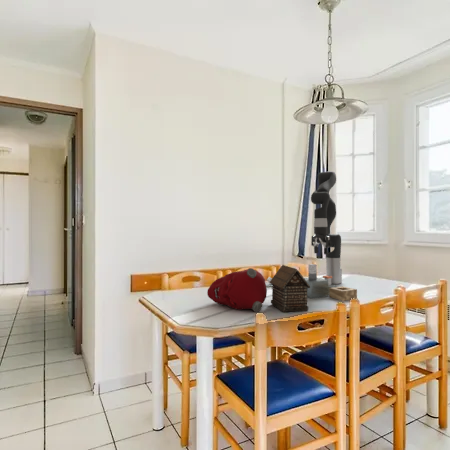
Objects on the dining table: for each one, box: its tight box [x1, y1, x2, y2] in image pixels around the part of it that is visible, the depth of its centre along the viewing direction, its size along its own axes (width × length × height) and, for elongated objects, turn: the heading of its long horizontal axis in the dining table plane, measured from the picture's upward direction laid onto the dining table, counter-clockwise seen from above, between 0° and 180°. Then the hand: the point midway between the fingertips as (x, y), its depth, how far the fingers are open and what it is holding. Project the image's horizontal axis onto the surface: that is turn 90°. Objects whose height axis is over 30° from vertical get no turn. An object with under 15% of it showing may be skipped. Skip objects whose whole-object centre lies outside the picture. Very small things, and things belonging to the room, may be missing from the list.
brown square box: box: [329, 286, 358, 302], centre depth 185 cm, size 10×10×5 cm
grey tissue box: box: [303, 277, 338, 299], centre depth 194 cm, size 20×12×9 cm, turn 116°
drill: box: [307, 263, 318, 280], centre depth 193 cm, size 3×3×14 cm
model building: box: [269, 264, 310, 313], centre depth 166 cm, size 18×14×20 cm
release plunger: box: [322, 275, 332, 286], centre depth 197 cm, size 4×4×6 cm
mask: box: [206, 267, 268, 313], centre depth 170 cm, size 20×26×30 cm
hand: (320, 253), depth 199 cm, fingers open, 8 cm apart
